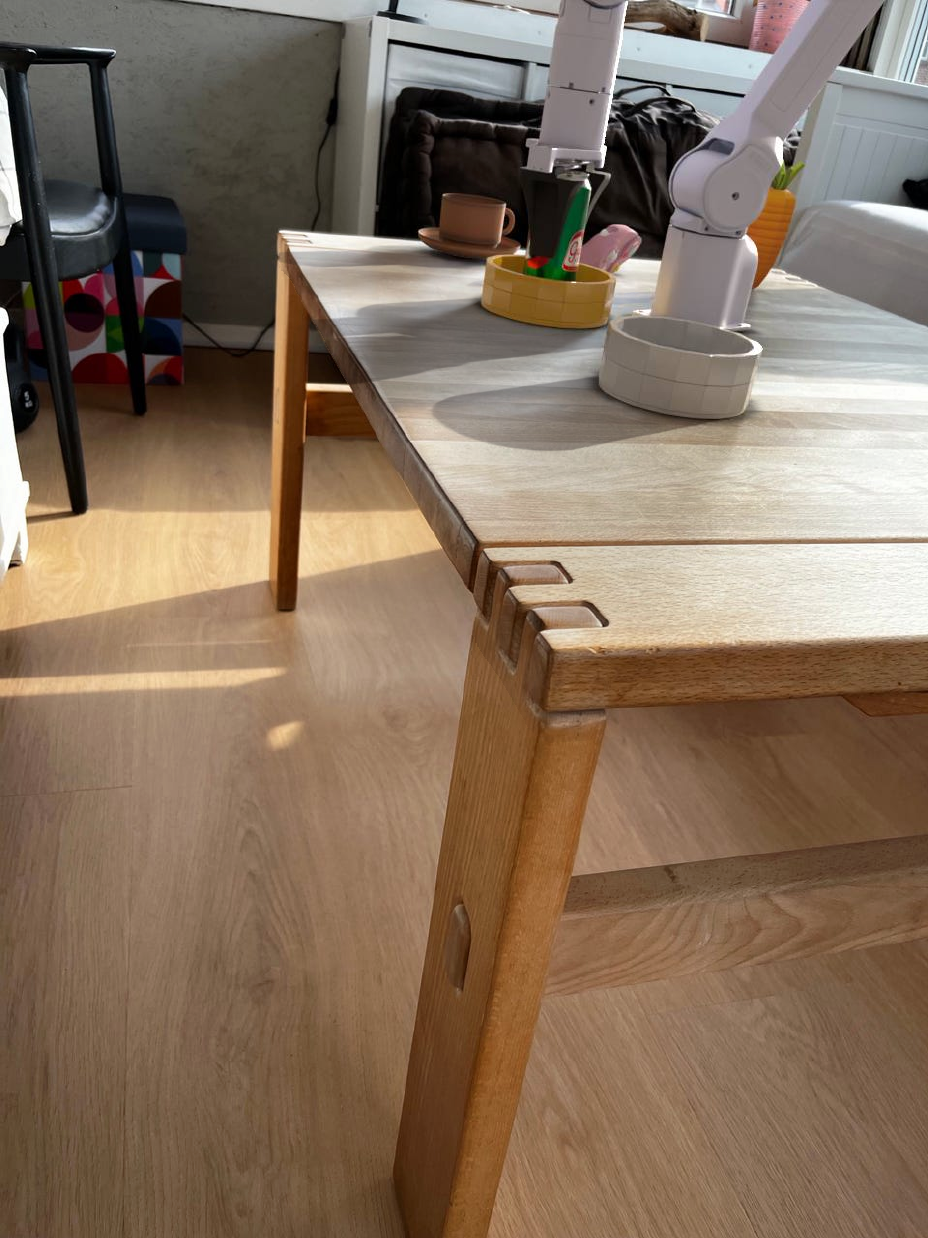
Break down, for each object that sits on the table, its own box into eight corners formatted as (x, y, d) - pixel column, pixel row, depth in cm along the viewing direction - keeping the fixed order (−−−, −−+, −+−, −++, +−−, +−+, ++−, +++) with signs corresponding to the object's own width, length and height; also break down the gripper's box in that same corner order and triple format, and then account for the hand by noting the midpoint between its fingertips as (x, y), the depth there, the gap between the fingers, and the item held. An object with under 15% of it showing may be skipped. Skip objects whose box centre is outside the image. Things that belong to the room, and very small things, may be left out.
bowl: (542, 293, 105) (548, 253, 104) (633, 323, 98) (641, 280, 96) (454, 299, 98) (460, 255, 96) (546, 332, 90) (554, 286, 88)
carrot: (778, 291, 125) (813, 157, 118) (765, 295, 121) (801, 157, 114) (739, 282, 127) (771, 151, 120) (726, 286, 123) (758, 150, 116)
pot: (658, 366, 85) (670, 311, 82) (774, 408, 78) (790, 349, 76) (568, 380, 77) (578, 320, 75) (686, 426, 71) (702, 362, 69)
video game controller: (584, 294, 116) (620, 241, 111) (555, 268, 116) (590, 215, 112) (619, 285, 123) (655, 236, 119) (592, 260, 124) (626, 211, 120)
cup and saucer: (456, 241, 127) (462, 188, 124) (537, 261, 122) (545, 206, 119) (395, 247, 118) (400, 190, 115) (479, 269, 113) (487, 210, 110)
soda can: (567, 315, 95) (591, 176, 89) (514, 306, 96) (534, 167, 90) (573, 305, 100) (596, 172, 94) (522, 296, 100) (542, 164, 94)
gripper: (565, 86, 96) (542, 238, 103) (504, 80, 84) (482, 252, 91) (637, 97, 94) (608, 251, 100) (584, 92, 82) (556, 267, 88)
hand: (553, 252), depth 95 cm, fingers closed on soda can, 5 cm apart
